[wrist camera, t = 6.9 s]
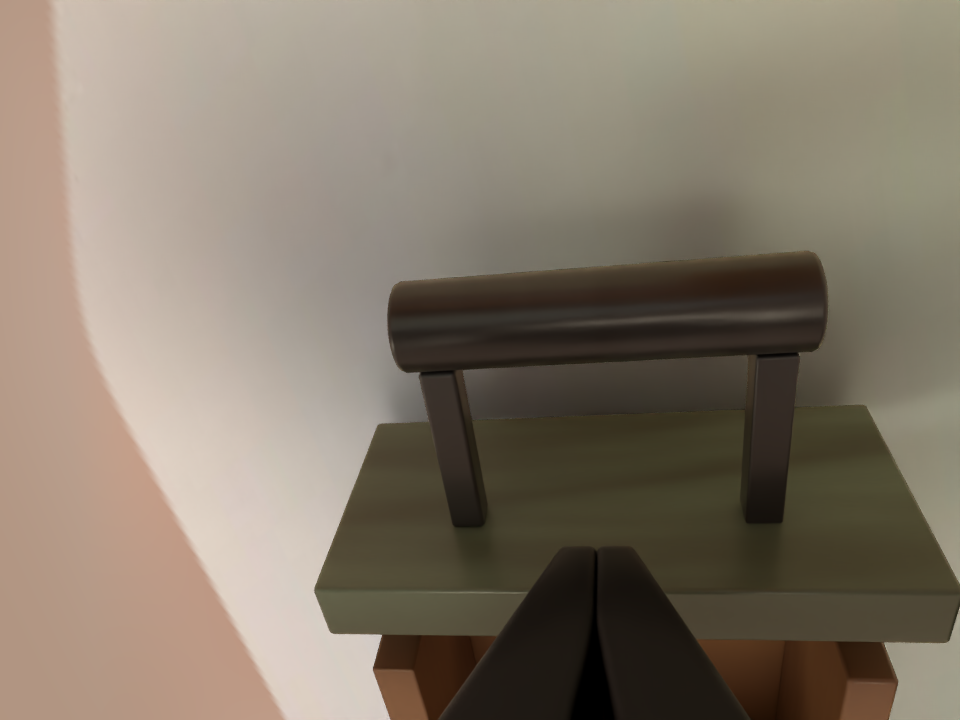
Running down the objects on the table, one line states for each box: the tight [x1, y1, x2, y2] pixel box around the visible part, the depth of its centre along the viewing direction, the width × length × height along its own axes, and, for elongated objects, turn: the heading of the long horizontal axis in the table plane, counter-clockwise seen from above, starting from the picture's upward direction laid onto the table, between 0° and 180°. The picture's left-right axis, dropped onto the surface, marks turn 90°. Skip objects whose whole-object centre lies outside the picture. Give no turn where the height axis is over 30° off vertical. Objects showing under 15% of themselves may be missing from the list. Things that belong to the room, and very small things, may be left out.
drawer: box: [314, 251, 960, 720], centre depth 15 cm, size 17×10×5 cm, turn 8°
